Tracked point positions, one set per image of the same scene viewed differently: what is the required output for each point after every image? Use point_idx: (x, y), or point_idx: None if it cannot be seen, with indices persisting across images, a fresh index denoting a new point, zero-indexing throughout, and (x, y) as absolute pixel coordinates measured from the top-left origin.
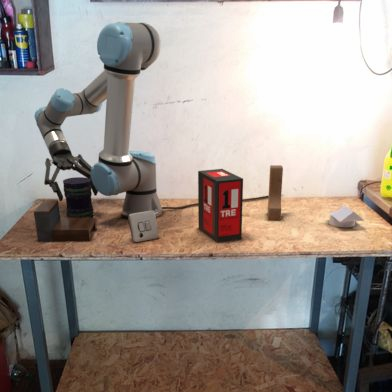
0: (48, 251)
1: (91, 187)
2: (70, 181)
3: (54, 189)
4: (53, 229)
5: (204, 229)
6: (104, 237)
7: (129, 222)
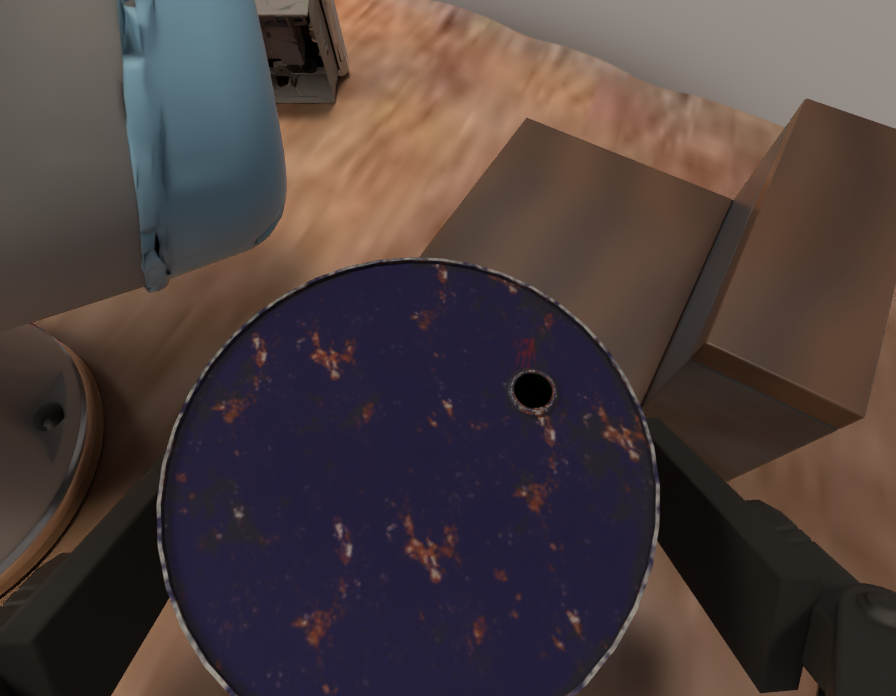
0: (733, 141)
1: (153, 605)
2: (526, 461)
3: (772, 510)
4: (719, 197)
5: None
6: (431, 180)
7: (316, 33)
